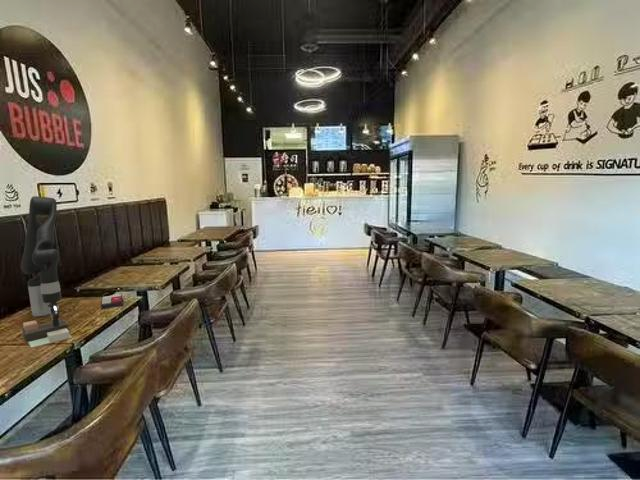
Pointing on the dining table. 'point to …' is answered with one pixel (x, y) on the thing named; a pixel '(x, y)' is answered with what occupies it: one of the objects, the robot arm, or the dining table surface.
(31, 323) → the salmon pink block
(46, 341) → the mat
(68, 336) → the cream tile
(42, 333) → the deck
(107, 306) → the red and white box
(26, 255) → the robot arm
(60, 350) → the dining table surface
